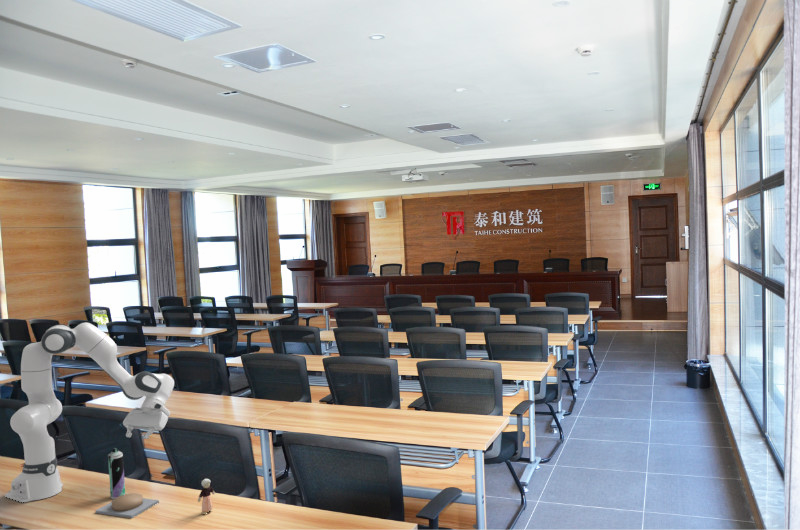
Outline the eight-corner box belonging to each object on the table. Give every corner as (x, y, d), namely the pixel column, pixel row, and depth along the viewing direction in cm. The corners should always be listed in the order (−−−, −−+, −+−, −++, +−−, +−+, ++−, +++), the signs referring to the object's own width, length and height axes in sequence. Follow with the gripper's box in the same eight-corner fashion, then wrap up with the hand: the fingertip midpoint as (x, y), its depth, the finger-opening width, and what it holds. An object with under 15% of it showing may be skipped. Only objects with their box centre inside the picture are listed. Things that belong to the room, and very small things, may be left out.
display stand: (95, 513, 231) (94, 504, 231) (123, 498, 244) (123, 489, 244) (132, 518, 225) (131, 509, 225) (159, 502, 238) (158, 494, 238)
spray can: (119, 499, 243) (116, 450, 243) (107, 498, 245) (104, 450, 244) (128, 493, 249) (125, 446, 248) (116, 493, 250) (113, 445, 249)
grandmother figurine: (205, 516, 223) (203, 482, 223) (197, 515, 225) (195, 482, 224) (218, 507, 231) (216, 475, 230) (210, 506, 232) (208, 474, 231)
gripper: (129, 403, 267) (113, 432, 258) (166, 406, 260) (150, 435, 251) (137, 411, 272) (121, 439, 263) (173, 413, 265) (159, 442, 256)
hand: (136, 437), depth 257 cm, fingers open, 8 cm apart
